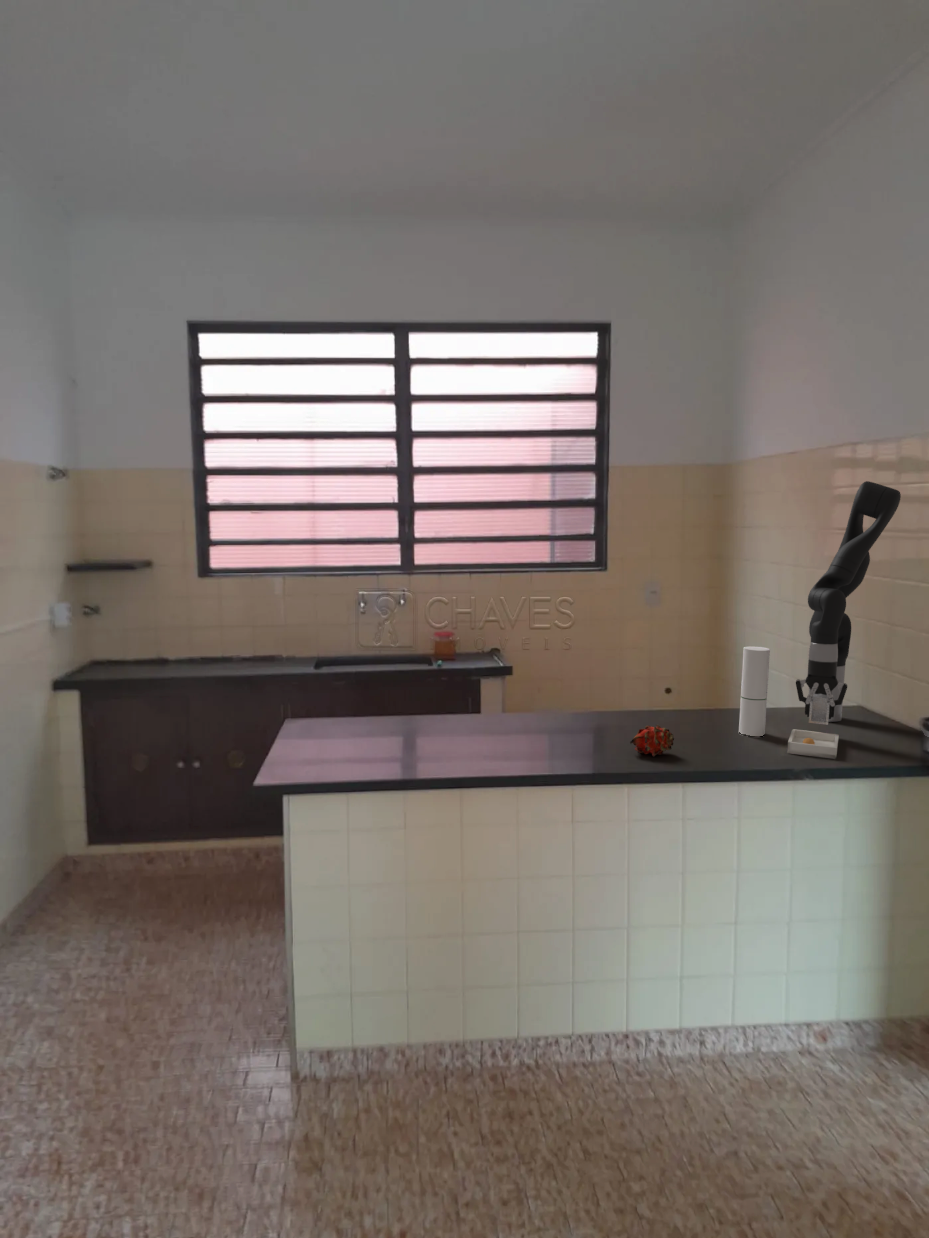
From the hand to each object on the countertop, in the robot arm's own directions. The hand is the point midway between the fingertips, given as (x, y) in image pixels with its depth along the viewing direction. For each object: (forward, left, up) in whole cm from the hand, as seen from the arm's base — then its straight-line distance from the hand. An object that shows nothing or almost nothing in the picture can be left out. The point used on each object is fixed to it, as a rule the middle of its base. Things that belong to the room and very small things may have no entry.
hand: (819, 717), depth 245 cm
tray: (+9, -10, -6) cm, 14 cm away
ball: (+11, -13, -3) cm, 18 cm away
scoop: (0, 0, -1) cm, 1 cm away
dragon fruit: (0, -55, -6) cm, 55 cm away
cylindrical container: (-9, -16, -6) cm, 19 cm away
